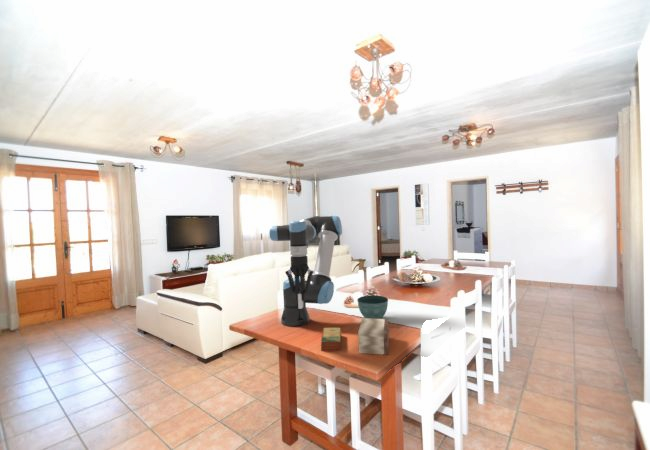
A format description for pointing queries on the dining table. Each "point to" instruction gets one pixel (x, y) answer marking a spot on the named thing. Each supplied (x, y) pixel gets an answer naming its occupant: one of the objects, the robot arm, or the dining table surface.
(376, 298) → the teal bowl
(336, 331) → the carton
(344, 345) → the dining table surface
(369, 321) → the marbled stone block
